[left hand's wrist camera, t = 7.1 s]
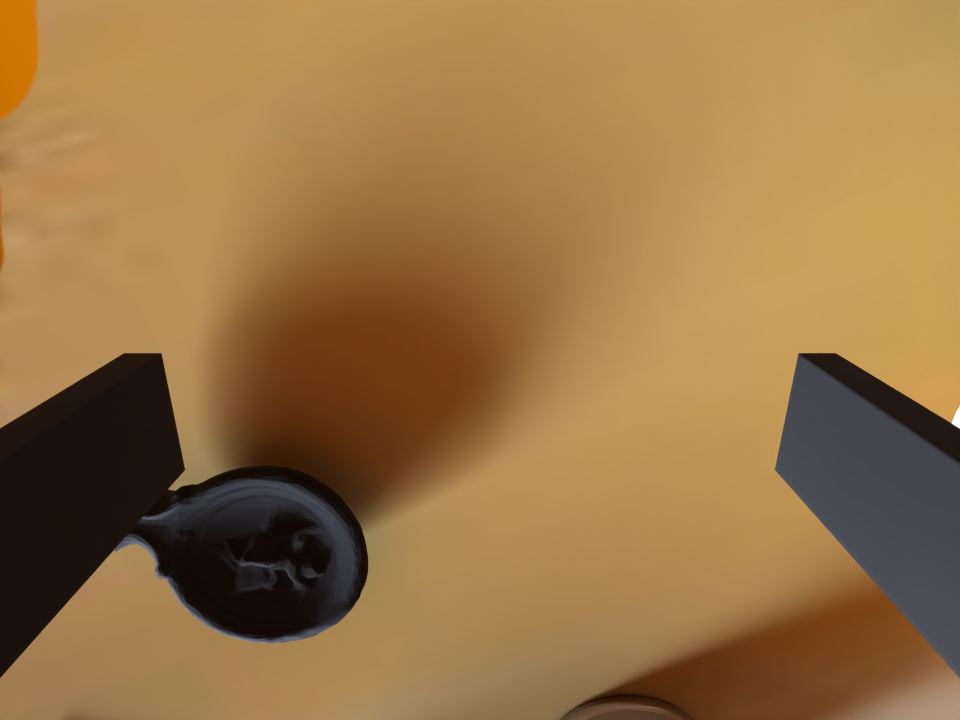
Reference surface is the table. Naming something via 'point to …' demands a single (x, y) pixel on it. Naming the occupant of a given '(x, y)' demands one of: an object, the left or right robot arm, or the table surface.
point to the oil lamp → (257, 552)
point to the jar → (957, 418)
